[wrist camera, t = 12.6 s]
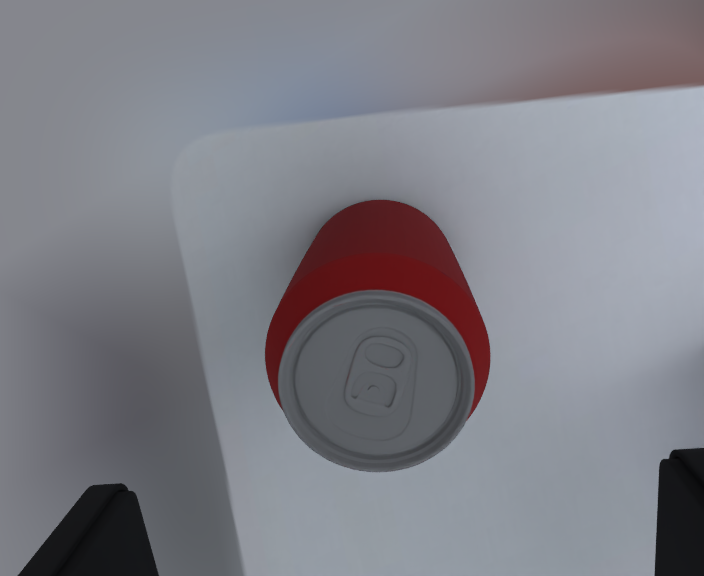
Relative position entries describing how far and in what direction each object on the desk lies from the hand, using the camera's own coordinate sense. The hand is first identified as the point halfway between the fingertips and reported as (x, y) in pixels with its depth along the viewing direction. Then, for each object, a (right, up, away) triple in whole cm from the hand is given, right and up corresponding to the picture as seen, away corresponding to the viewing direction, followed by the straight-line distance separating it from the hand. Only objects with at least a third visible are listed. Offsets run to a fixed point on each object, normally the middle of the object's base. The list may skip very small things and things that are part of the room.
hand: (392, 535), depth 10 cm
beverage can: (+1, +5, +17) cm, 18 cm away
